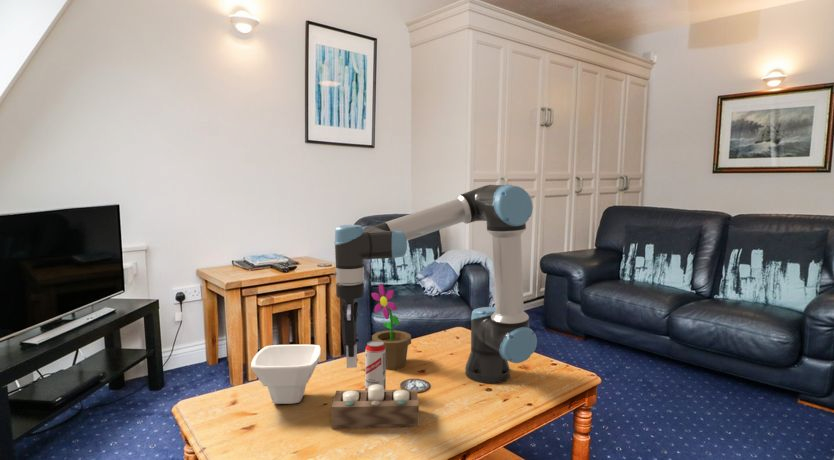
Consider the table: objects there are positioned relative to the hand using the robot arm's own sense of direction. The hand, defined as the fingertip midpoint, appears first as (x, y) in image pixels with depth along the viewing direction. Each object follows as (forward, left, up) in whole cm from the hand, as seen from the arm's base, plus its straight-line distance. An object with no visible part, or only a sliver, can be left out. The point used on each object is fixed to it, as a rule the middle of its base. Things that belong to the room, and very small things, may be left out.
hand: (351, 366), depth 132 cm
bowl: (+20, -11, -15) cm, 27 cm away
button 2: (-14, 0, -13) cm, 19 cm away
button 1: (0, 0, -13) cm, 13 cm away
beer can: (-6, -15, -15) cm, 22 cm away
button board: (-7, +1, -15) cm, 16 cm away
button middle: (-7, 0, -11) cm, 13 cm away
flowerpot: (-11, -39, -15) cm, 43 cm away
